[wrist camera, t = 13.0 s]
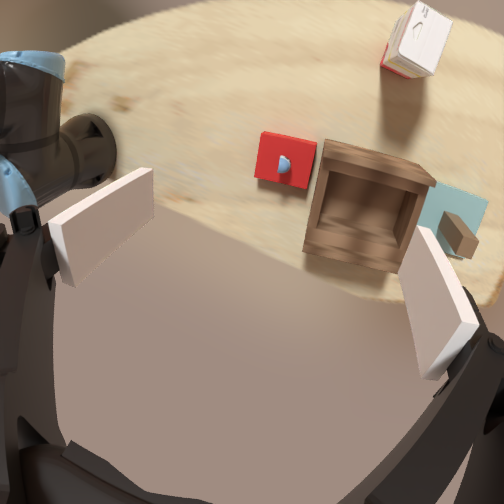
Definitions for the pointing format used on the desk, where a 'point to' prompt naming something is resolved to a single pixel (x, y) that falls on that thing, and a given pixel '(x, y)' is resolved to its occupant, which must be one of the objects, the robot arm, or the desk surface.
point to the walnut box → (365, 206)
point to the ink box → (417, 42)
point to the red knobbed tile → (285, 159)
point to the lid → (453, 218)
